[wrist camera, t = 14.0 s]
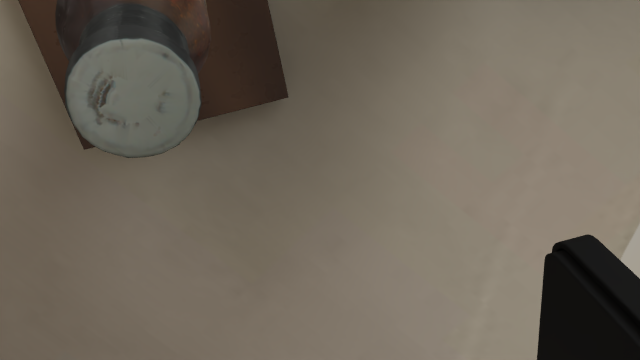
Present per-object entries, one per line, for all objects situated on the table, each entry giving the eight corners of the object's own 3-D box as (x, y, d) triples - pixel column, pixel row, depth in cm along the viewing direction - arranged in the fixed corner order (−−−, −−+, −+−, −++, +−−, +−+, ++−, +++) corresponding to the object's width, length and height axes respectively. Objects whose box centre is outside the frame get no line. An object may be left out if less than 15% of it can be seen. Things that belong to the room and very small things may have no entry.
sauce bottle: (56, -45, 33) (-54, 71, 16) (142, -115, 32) (122, -71, 15) (138, 46, 36) (118, 220, 19) (217, -16, 36) (268, 109, 19)
